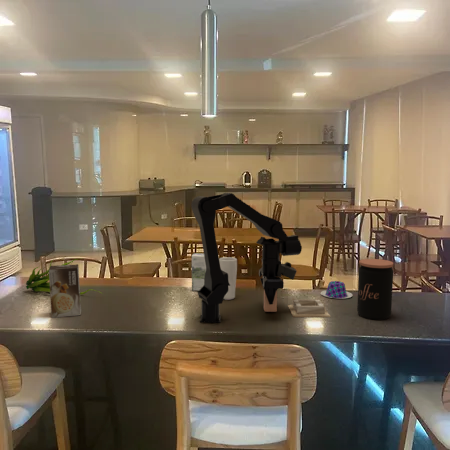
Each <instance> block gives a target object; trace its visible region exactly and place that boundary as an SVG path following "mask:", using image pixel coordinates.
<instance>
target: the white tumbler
mask: <svg viewBox="0 0 450 450" xmlns="http://www.w3.org/2000/svg"><path fill="white" fill-rule="evenodd" d="M219 262H220V268H221V270H222V271H224V272H226V273H228V282H229V284H230V286H228V292H227V293H226V295H225V296H224V299H223V300H226V301H227V300H229V301H231V300H234V299H235V298H236V285H237V272H238V259H237V258H236V257H229V256H228V257H227V256H224V257H219Z"/></svg>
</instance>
